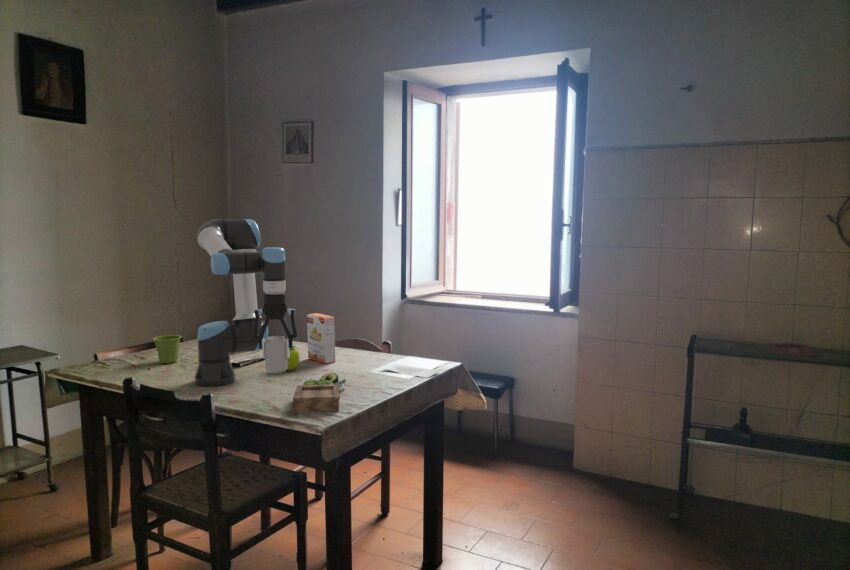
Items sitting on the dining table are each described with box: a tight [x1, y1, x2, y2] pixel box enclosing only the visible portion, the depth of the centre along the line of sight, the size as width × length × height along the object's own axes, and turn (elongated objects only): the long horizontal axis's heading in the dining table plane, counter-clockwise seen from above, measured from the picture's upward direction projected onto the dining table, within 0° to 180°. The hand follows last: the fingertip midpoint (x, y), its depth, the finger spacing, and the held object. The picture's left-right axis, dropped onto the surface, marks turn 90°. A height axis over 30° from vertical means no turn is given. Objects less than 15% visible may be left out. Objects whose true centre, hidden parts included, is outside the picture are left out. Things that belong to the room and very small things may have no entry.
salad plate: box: [299, 372, 347, 392], centre depth 227 cm, size 19×18×5 cm
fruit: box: [285, 345, 300, 371], centre depth 255 cm, size 9×9×10 cm
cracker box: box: [306, 312, 336, 365], centre depth 271 cm, size 14×6×21 cm, turn 44°
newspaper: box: [230, 350, 263, 367], centre depth 276 cm, size 35×12×4 cm, turn 157°
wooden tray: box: [292, 384, 341, 414], centre depth 208 cm, size 15×15×5 cm
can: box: [264, 335, 287, 374], centre depth 209 cm, size 8×8×12 cm
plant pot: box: [152, 334, 182, 364], centre depth 268 cm, size 12×12×11 cm
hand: (276, 357), depth 209 cm, fingers closed on can, 7 cm apart
